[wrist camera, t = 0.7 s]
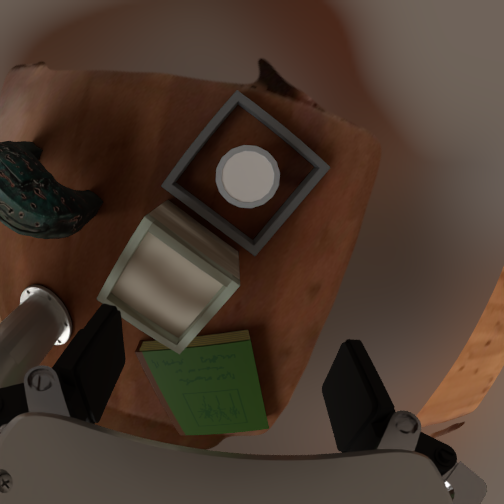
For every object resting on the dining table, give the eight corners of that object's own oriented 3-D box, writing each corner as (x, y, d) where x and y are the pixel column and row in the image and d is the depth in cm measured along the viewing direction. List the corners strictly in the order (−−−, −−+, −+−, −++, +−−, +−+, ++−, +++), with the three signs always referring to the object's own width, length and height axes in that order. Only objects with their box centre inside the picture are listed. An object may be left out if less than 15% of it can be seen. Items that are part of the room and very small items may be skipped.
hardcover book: (140, 338, 44) (135, 352, 40) (249, 326, 44) (250, 340, 41) (183, 424, 52) (181, 436, 49) (267, 416, 53) (269, 430, 49)
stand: (190, 310, 42) (179, 354, 32) (125, 265, 39) (96, 299, 29) (238, 251, 39) (240, 285, 29) (168, 199, 36) (144, 216, 26)
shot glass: (241, 136, 34) (242, 131, 27) (282, 168, 36) (293, 172, 29) (208, 177, 36) (202, 183, 29) (249, 209, 37) (253, 221, 31)
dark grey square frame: (253, 249, 39) (255, 256, 37) (165, 184, 35) (160, 186, 33) (324, 166, 36) (330, 167, 33) (236, 94, 32) (237, 90, 30)
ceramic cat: (16, 160, 32) (-74, 180, 13) (32, 125, 30) (-62, 129, 11) (94, 228, 37) (8, 287, 18) (114, 191, 35) (23, 231, 16)
